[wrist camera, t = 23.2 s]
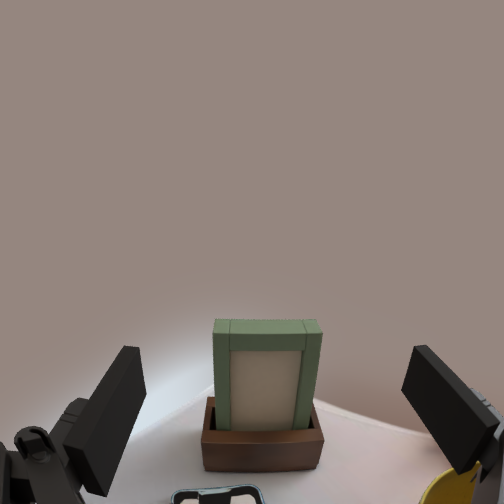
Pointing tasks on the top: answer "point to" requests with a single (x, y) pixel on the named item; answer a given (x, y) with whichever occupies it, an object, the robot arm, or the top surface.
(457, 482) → the flower pot
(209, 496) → the smartphone
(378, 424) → the top surface
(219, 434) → the holder
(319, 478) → the top surface
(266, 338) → the frame
